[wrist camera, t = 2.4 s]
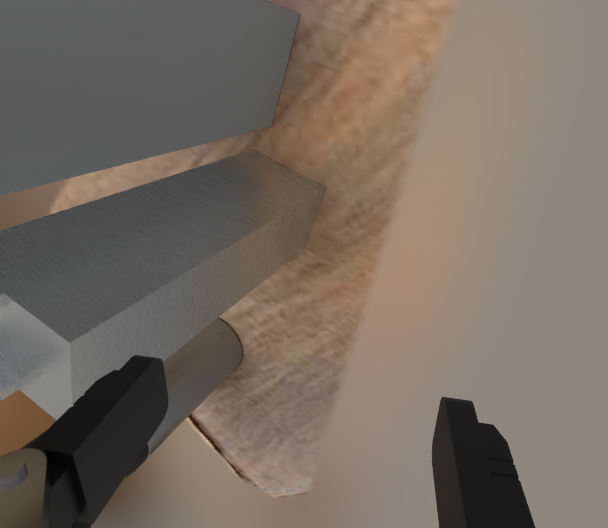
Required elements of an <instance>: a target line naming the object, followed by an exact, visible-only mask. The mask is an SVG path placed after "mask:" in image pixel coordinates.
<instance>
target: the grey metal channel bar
mask: <svg viewBox="0 0 608 528" xmlns="http://www.w3.org/2000/svg"><path fill="white" fill-rule="evenodd" d="M324 190H325V187H323V186H321V185H319V184H317V183H315V182H313V181H311V180H310V179H308V178H306V177H304V176H302V175H300V174H298V173H296V172H294V171H292V170H290V169H288V168H286V167H284V166H282V165H281V164H279V163H277V162H275V161H273V160H271V159H269V158H267V157H265V156H263V155H261V154H259V153H257V152H255V151H253V150H250V151H247V152H244V153H241V154H238V155H235V156H231V157H228V158H225V159H222V160H219V161H216V162H213V163H210V164H207V165H204V166H200V167H197V168H194V169H191V170H188V171H185V172H182V173H179V174H176V175H172V176H169V177H166V178H163V179H160V180H157V181H154V182H151V183H148V184H144V185H141V186H138V187H135V188H132V189H129V190H126V191H123V192H120V193H116V194H113V195H110V196H107V197H104V198H101V199H98V200H95V201H92V202H89V203H85V204H82V205H79V206H76V207H73V208H70V209H67V210H64V211H61V212H57V213H54V214H51V215H48V216H45V217H42V218H39V219H36V220H33V221H30V222H26V223H23V224H20V225H17V226H14V227H11V228H8V229H5V230H1V231H0V401H1V400H3V399H4V398H6V397H8V396H9V395H11V394H12V393H14V392H15V391H17V390H19V389H20V390H21V391H22V392H23V393H24V394H26V395H27V396H28V397H29V398H30V399H32V400H33V401H34V402H35V403H36V404H38V405H39V406H40V407H41V408H42V409H44V410H45V411H46V412H47V413H48V414H50V415H51V416H52V417H53V418H55V419H56V420H58V419H59V418H60V417H61V416H62V415H63V414H64V413H65V412H66V411H67V410H68V409H69V408H70V407H73V404H74V403H75V402H76V401H77V400H78V399H79V398H80V397H81V396H83V395H84V393H85V392H86V391H87V390H88V389H89V388H90V387H91V386H92V385H93V384H94V383H95V382H96V381H97V380H98V379H100V378H101V377H103V376H105V375H106V374H108V373H110V372H112V371H113V370H120V369H121V368H122V367H123V366H124V365H125V363H126V362H127V361H128V360H129V359H130V358H131V357H133V356H134V355H140V356H147V357H155V358H160V359H161V360H162V361H163V362H164V361H165V360H166V359H167V358H168V357H170V356H171V355H172V354H173V353H175V352H176V351H177V350H178V349H180V348H181V347H182V346H183V345H185V344H186V343H187V342H188V341H190V340H191V339H192V338H193V337H194V336H196V335H197V334H198V333H199V332H201V331H202V330H203V329H204V328H206V327H207V326H208V325H209V324H211V323H212V322H213V321H214V320H216V319H217V318H218V317H219V316H220V315H222V314H223V313H224V312H225V311H227V310H228V309H229V308H230V307H232V306H233V305H234V304H235V303H237V302H238V301H239V300H240V299H242V298H243V297H244V296H245V295H246V294H248V293H249V292H250V291H251V290H253V289H254V288H255V287H256V286H258V285H259V284H260V283H261V282H263V281H264V280H265V279H266V278H268V277H269V276H270V275H271V274H272V273H274V272H275V271H276V270H277V269H279V268H280V267H281V266H282V265H284V264H285V263H286V262H287V261H289V260H290V259H291V258H292V257H294V256H295V255H296V254H297V253H298V252H300V251H301V250H302V249H303V248H304V245H305V243H306V240H307V237H308V234H309V232H310V229H311V226H312V223H313V221H314V218H315V215H316V212H317V210H318V207H319V204H320V201H321V198H322V196H323V193H324Z"/></svg>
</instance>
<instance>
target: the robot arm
mask: <svg viewBox="0 0 608 528" xmlns="http://www.w3.org/2000/svg"><path fill="white" fill-rule="evenodd" d="M241 359H242V348H241V345H240V342H239V340H238V338H237V336H236V334H235V333H234V332H233V330H232V329H231V328H230V327H229V326H228V325H227V324H226V323H225V322H223V321H222V320H220V319H219V318H217V319H216V320H214V321H213V322H212V323H211V324H209V325H208V326H207V327H206V328H204V329H203V330H202V331H201V332H199V333H198V334H197V335H196V336H194V337H193V338H192V339H191V340H190V341H188V342H187V343H186V344H185V345H183V346H182V347H181V348H180V349H178V350H177V351H176V352H175V353H173V354H172V355H171V356H170V357H168V358H167V359H166V360H165V361H164V362H163V361H162V360H161V359H160V358H155V357H147V356H140V355H134V356H133V357H131V358H130V359H129V360H128V361H127V362H126V363H125V365H124V366H123V367H122V368H121V369H120V370H113V371H112V372H110V373H108V374H106V375H105V376H103V377H101V378H100V379H98V380H97V381H96V382H95V383H94V384H93V385H92V386H91V387H90V388H89V389H88V390H87V391H86V392H85V393H84V395H83V396H81V397H80V398H79V399H78V400H77V401H76V402H75V403H74V404H73V407H70V408H69V409H68V410H67V411H66V412H65V413H64V414H63V415H62V416H61V417H60V418H59V419H58V420H57V421H56V422H55V423H54V424H53V425H52V426H51V427H50V428H49V429H48V430H47V431H45V432H44V433H42V434H41V435H39V436H38V437H37V438H35V439H34V440H33V441H31V442H30V443H28V444H27V445H25V446H24V447H22V448H21V449H20V450H16V451H13V452H10V453H8V454H5V455H3V456H1V457H0V528H91V524H93V523H94V522H95V520H96V519H97V517H98V516H99V514H100V513H101V511H102V510H103V508H104V507H105V505H106V504H107V503H108V501H109V499H110V498H111V497H112V495H113V494H114V492H115V491H116V489H117V488H118V486H119V485H120V483H121V482H122V480H123V479H124V478H125V477H127V476H129V475H130V474H132V473H133V472H134V471H135V470H136V469H137V468H138V467H139V466H140V465H141V464H142V463H143V462H144V461H145V460H146V459H147V458H148V457H149V456H150V455H151V454H152V453H153V452H154V451H155V450H156V449H157V448H158V447H159V445H161V444H162V442H163V441H164V440H165V439H166V438H167V437H168V436H169V435H170V434H171V433H172V432H173V431H174V430H175V429H176V428H177V427H178V426H179V425H180V424H181V423H182V422H183V421H184V420H185V419H186V418H187V417H188V416H189V415H190V414H191V413H192V412H193V411H194V410H195V409H196V408H197V407H198V406H199V405H200V404H201V403H202V402H203V401H204V400H205V399H206V398H207V397H208V396H209V395H210V394H211V393H212V392H213V391H214V390H215V389H216V388H217V386H218V385H219V384H220V383H222V382H223V381H224V380H225V379H226V377H227V376H228V375H229V374H230V373H231V372H232V371H233V370H234V369H235V368H236V367H237V366H238V365H239V364H240V362H241ZM432 466H433V475H434V484H435V493H436V502H437V511H438V520H439V528H535V526H534V523H533V519H532V516H531V513H530V511H529V507H528V504H527V501H526V498H525V495H524V492H523V489H522V486H521V483H520V481H519V480H518V474H517V471H516V468H515V465H513V458H512V455H511V452H510V449H509V446H508V443H507V441H506V440H505V439H504V438H503V436H502V435H501V434H500V433H499V431H498V430H497V429H496V428H495V426H494V425H490V424H484V423H478V420H477V416H476V412H475V408H474V405H473V402H472V401H468V400H461V399H454V398H446V397H442V398H441V401H440V406H439V411H438V417H437V421H436V427H435V432H434V437H433V444H432Z"/></svg>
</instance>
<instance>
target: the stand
mask: <svg viewBox="0 0 608 528" xmlns="http://www.w3.org/2000/svg"><path fill="white" fill-rule="evenodd" d="M299 16H300V14H298V13H296V12H293V11H291V10H289V9H286V8H284V7H281V6H279V5H276V4H274V3H271V2H269V1H266V0H0V196H2V195H5V194H9V193H13V192H17V191H21V190H25V189H29V188H33V187H37V186H40V185H45V184H48V183H52V182H56V181H60V180H64V179H68V178H72V177H76V176H80V175H84V174H87V173H91V172H95V171H99V170H103V169H107V168H111V167H115V166H119V165H122V164H126V163H130V162H134V161H138V160H142V159H146V158H150V157H154V156H158V155H161V154H165V153H169V152H173V151H177V150H181V149H185V148H189V147H193V146H196V145H200V144H204V143H208V142H212V141H216V140H220V139H224V138H228V137H231V136H235V135H239V134H243V133H247V132H251V131H255V130H259V129H263V128H266V127H270V126H272V122H273V118H274V114H275V110H276V106H277V103H278V99H279V95H280V91H281V87H282V83H283V79H284V75H285V71H286V67H287V63H288V59H289V56H290V52H291V48H292V44H293V40H294V36H295V32H296V28H297V24H298V20H299Z"/></svg>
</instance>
